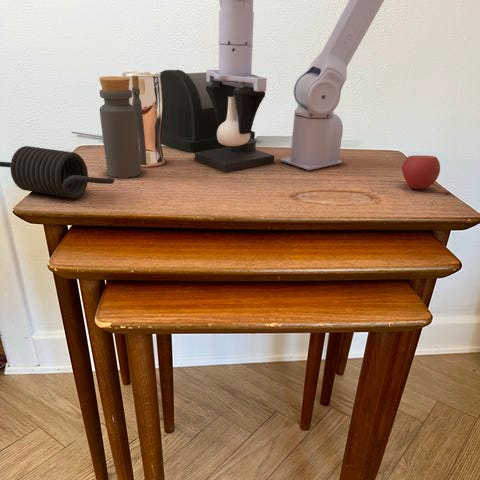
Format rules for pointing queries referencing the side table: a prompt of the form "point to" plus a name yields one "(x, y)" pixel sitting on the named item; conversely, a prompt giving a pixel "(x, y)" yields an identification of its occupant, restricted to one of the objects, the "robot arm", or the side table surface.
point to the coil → (51, 172)
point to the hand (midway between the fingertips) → (233, 130)
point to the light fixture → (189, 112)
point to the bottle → (119, 128)
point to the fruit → (421, 171)
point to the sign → (87, 134)
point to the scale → (235, 157)
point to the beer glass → (148, 114)
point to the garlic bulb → (231, 128)
